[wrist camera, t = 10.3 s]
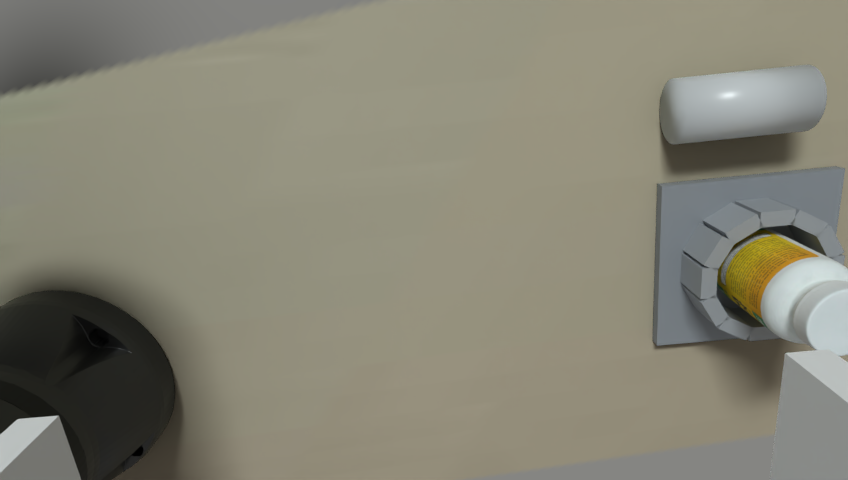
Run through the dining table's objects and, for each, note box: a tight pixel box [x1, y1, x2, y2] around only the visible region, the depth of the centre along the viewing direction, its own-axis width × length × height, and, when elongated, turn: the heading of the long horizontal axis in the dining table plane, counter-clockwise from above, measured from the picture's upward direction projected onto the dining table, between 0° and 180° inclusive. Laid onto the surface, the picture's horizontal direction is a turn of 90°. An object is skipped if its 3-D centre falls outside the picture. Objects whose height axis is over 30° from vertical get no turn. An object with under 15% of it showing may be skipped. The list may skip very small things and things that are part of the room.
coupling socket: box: [653, 166, 845, 346], centre depth 37 cm, size 12×12×4 cm
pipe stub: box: [660, 65, 827, 144], centre depth 34 cm, size 8×4×4 cm, turn 96°
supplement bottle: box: [717, 228, 848, 356], centre depth 34 cm, size 5×5×10 cm
